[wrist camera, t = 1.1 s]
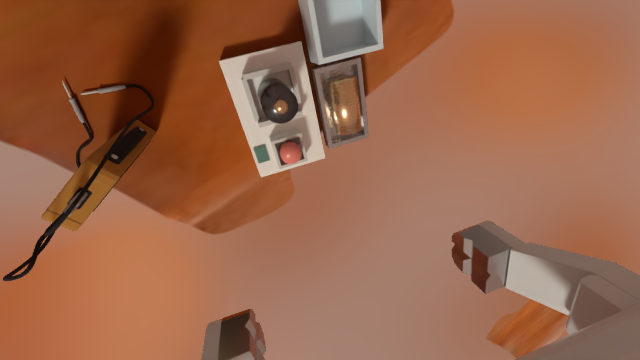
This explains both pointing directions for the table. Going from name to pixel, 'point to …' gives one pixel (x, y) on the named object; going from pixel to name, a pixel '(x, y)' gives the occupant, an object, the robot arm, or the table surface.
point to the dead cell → (277, 101)
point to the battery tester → (258, 129)
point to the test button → (290, 152)
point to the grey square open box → (341, 28)
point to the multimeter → (92, 176)
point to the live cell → (345, 104)
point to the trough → (323, 99)
